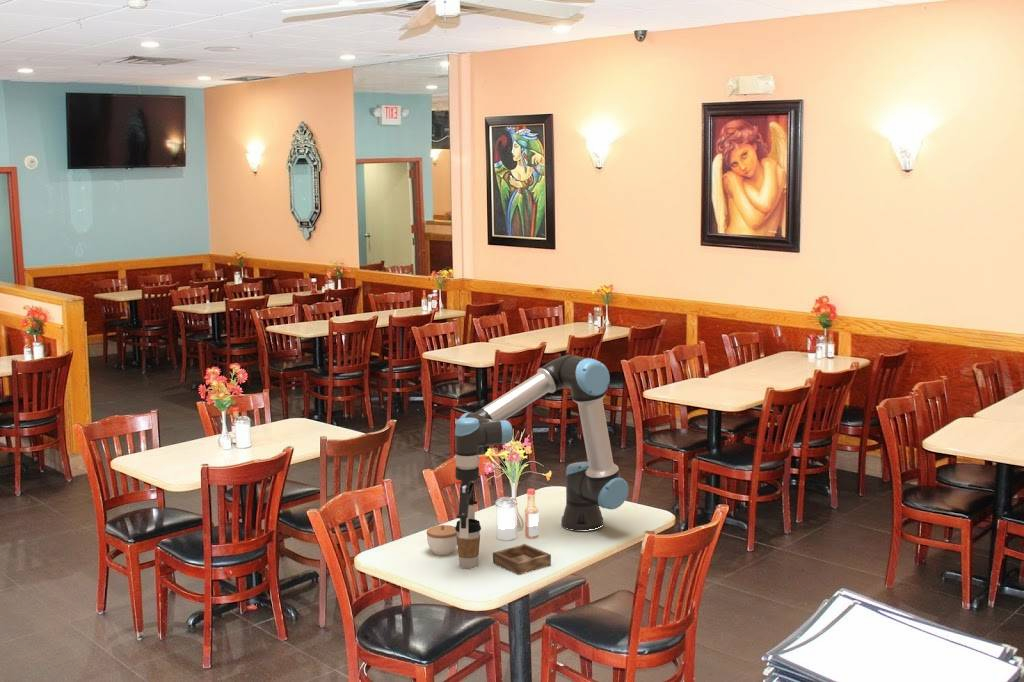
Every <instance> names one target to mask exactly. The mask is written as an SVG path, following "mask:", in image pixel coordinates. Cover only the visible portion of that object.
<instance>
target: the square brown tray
mask: <svg viewBox="0 0 1024 682" xmlns="http://www.w3.org/2000/svg"><path fill="white" fill-rule="evenodd" d="M493 563H494V564H493ZM492 564H493V565H495V564H496V566H497V567H500V566H501V568H502V569H504V568H505V569H504V570H507V571H509V572H511V571H512V573H513V572H514V573H513V574H515V573H516V575H517V576H520V575H523V574H526V573H525V572H527V573H529V571H530V572H533V571H536V569H537V570H539V569H542V568H547V567H549V566H551V565H552V554H550V553H548V552H545V551H543V550H540V549H538V548H535V547H533V546H530V545H529V544H526V543H522V544H520V545H516V546H513V547H509V548H504V549H502V550H498V551H495V552H494V551H493V552H492ZM546 566H547V567H546ZM532 570H533V571H532ZM522 573H523V574H522ZM519 574H520V575H519Z"/></svg>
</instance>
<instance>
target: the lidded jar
mask: <svg viewBox="0 0 1024 682" xmlns="http://www.w3.org/2000/svg"><path fill="white" fill-rule="evenodd" d="M455 527H456V526H454V525H449V524H447V525H446V524H439V525H434V526H431V527H428V528H427V530H426V540H427V545H428V547H429V549H430V550H431V551H432V552H433V553H434V555H437V554H439V555H438V556H447V555H446V554H448V555H450V553H451V552H452V553H453V551H454V550H455V549H457V547H458V546H457V538H456V535H457V531H456V530H455ZM452 553H451V554H452Z"/></svg>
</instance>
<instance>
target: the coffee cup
mask: <svg viewBox="0 0 1024 682" xmlns="http://www.w3.org/2000/svg"><path fill="white" fill-rule="evenodd" d="M454 527H455V530H456V531H457V535H456V538H457V546H456V547H457V551H458V552H457V554H458V561H459V567H460V568H461V567H462V568H461V569H464V568H467V569H466V570H469V569H470V570H472V569H471V568H473V569H476V568H478V566H479V553H480V541H481V533H480V532H481V530H482V525H481V523H480V521H479V520H477V519H476V518H475V519H468V538H460V519H459V520H457V521H456V524H455V526H454ZM475 567H476V568H475Z"/></svg>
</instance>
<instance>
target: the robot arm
mask: <svg viewBox="0 0 1024 682" xmlns="http://www.w3.org/2000/svg"><path fill="white" fill-rule="evenodd" d="M610 381H611V378H610V372H609V370H608V368H607V366H606V365H605V364H604V363H602V362H601V361H599V360H597V359H594V358H591V357H582V356H579V355H575V354H566V355H562V356H560V357H557V358H555V359H553V360H551V361H550V362H548V363H546V364H545V365H543V366H541V367H539V368H538V369H537V372H536V374H534V375H532V376H531V377H529V378H528V379H526V380H525V381H523V382H521V383H520V384H518V385H517V386H515V387H513V388H511V389H510V390H509V391H508V392H506V393H504V394H503V395H500V396H499V397H498V398H496V399H494V400H493V401H491V402H489V403H488V404H486V405H485V406H483V407H482V408H480V409H478V410H476V411H475V412H465V413H463V414H462V415H461V416H459V418H458V419H457V420H456V421H455V429H454V436H455V437H454V439H455V441H454V442H455V443H454V445H455V446H454V447H455V455H454V456H453V459H454V460H455V466H456V467H455V475H454V477H455V479H456V480H458V481H461V484H460V487H459V501H458V502H459V505H458V506H459V507H458V514H457V515H456V518H457V519H459V520H460V538H468V519H475V520H476V509H475V508H476V505H477V504H478V501H477V497H476V488H475V481H476V480H478V479H479V478H480V468H479V466H480V448H481V447H483V448H484V447H489V446H497V445H504V444H508V443H510V442H511V441H512V439H513V436H514V435H513V433H514V432H513V431H514V430H513V427H512V426H513V425H512V424H511V422H510V421H508V420H507V419H508V418H510V417H511V416H513V415H514V414H516V413H518V412H519V411H521V410H522V409H524V408H526V407H527V406H529V405H530V404H532V403H533V402H535V401H537V400H539V399H540V398H541V397H543V396H545V395H546V394H548V393H550V394H553V393H555V392H556V391H558V390H562V389H570V394H571V398H572V401H573V402H574V403H575V404H577V407H578V412H579V418H580V423H581V429H582V436H583V440H584V446H585V451H586V458H587V461H579V462H572V463H569V464H568V465H567V467H566V469H565V470H566V471H565V482H566V483H565V489H566V491H565V495H566V502H565V507H564V510H563V515H562V517H561V527H562V526H563V528H564V527H565V528H568V529H573V530H589V529H595V528H598V527H600V526H602V525H603V526H604V517H603V515H602V511H601V508H602V509H607V510H616V509H618V508H620V507H621V506H622V505H623V504H624V503H625V500H627V498H628V495H629V484H628V482H627V481H626V480H625V478H622V477H621V473H620V468H619V466H618V465H617V464H615V463H614V459H613V454H612V447H611V446H612V445H611V441H610V436H609V430H608V424H607V416H606V413H605V407H604V401H603V400H604V398H605V397H606V395H607V392H606V391H607V390H608V389H609V386H608V385H610ZM565 528H564V529H565ZM568 529H567V530H568Z"/></svg>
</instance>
